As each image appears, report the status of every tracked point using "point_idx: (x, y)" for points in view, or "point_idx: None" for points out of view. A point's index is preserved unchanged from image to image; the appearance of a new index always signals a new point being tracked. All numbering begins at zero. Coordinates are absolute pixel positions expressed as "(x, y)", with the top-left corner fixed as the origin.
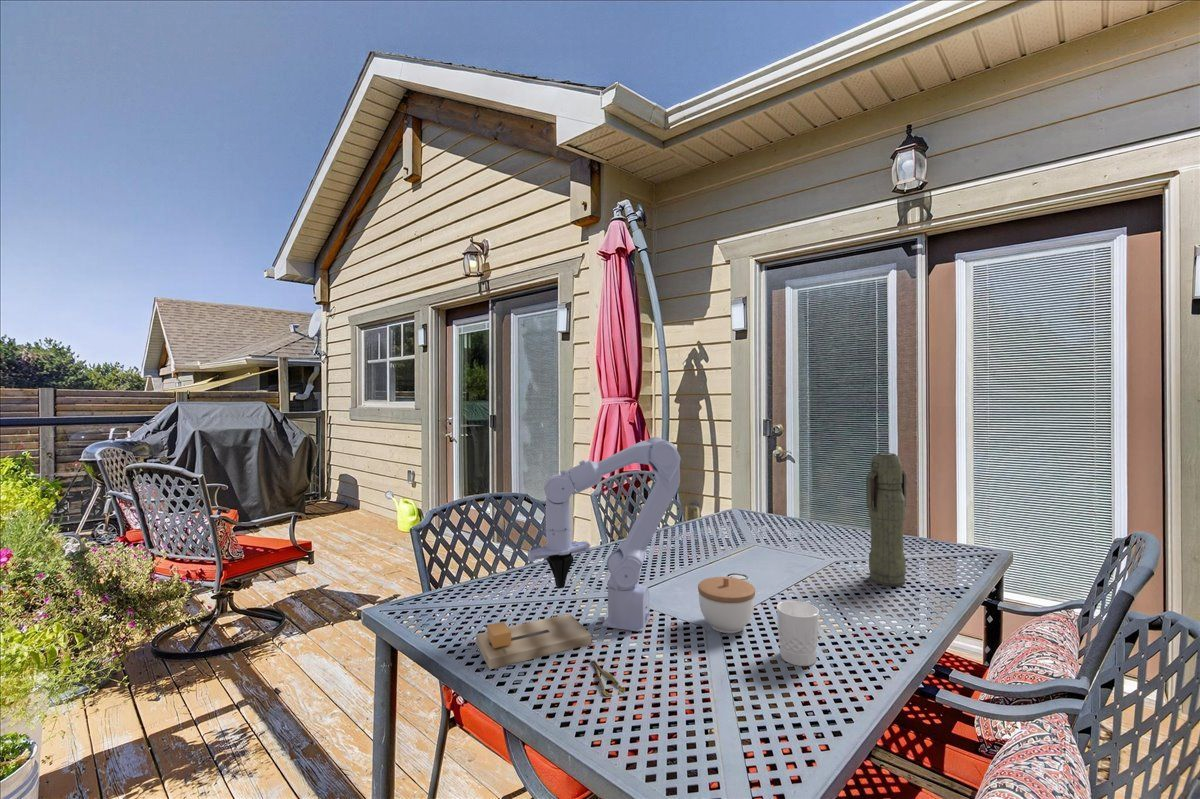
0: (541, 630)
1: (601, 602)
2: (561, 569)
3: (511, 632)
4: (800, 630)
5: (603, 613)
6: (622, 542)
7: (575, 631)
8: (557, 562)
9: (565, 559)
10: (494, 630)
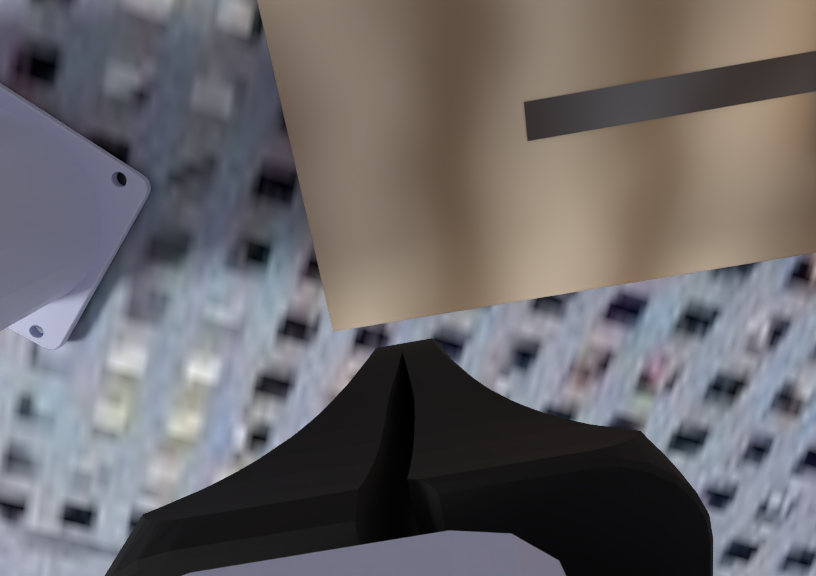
0: (569, 145)
1: (117, 493)
2: (424, 426)
3: (758, 179)
4: None
5: (123, 360)
6: None
7: (349, 49)
8: (573, 450)
9: (332, 525)
10: None
